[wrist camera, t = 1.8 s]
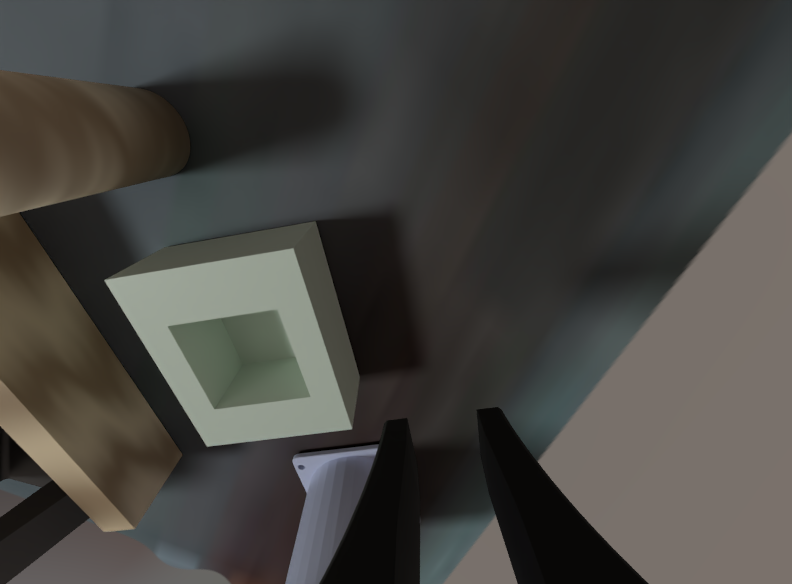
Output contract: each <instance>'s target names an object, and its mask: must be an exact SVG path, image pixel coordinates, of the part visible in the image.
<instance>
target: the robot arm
mask: <svg viewBox="0 0 792 584" xmlns="http://www.w3.org/2000/svg"><path fill="white" fill-rule="evenodd" d="M477 419H478V430H479V442H480V453H481V459H482V464H483V468H484V473H485V478H486V482H487V486H488V491H489V495H490V498H491V501H492V504H493V507H494V511H495V514H496V517H497V520H498V523H499V526H500V529H501V532H502V536H503V539H504V542H505V545H506V548H507V551H508V554H509V558H510V561H511V564H512V567H513V570H514V573H515V576H516V579H517V583H518V584H648V583H647V582H646V581H645V580H644V579H643V578H642V577H641V576H640V575H639V574H638V573H637V572H636V571H635V570H634V569H633V568H632V567H631V566H630V565H629V564H628V563H627V562H626V561H625V560H624V559H623V558H622V557H621V556H620V555H619V554H618V553H617V552H616V551H615V550H614V549H613V548H612V547H611V546H610V545H609V544H608V543H607V542H606V541H605V540H604V538H602V536H601V535H600V534H599V533H598V532H597V531H596V530H595V529H594V528H593V527H592V526H591V525H590V524H589V523H588V522H587V520H586V519H585V518H584V517H583V516H582V515H581V514H580V513H579V512H578V510H577V509H576V508H575V507H574V506H573V505H572V503H571V502H570V501H569V500H568V499H567V498H566V497H565V495H564V494H563V493H562V492H561V491H560V490H559V488H558V487H557V486H556V485H555V484H554V482H553V481H552V480H551V479H550V477H549V476H548V475H547V474H546V472H545V471H544V470H543V469H542V467H541V466H540V465H539V463H538V462H537V461H536V460H535V458H534V457H533V456H532V454H531V453H530V452H529V450H528V449H527V448H526V446H525V445H524V443H523V442H522V441H521V439H520V438H519V436H518V435H517V434H516V432H515V431H514V429H513V428H512V426H511V425H510V423H509V421H508V420H507V418H506V417H505V415H504V413H503V411H502V410H501V409H500V408H498V407H495V408H486V409H478V410H477ZM293 465H294V467H295V469H296V471H297V473H298V475H299V477H300V480H301V482H302V484H303V486H304V488H305V490H306V492H307V496H306V500H305V505H304V509H303V513H302V517H301V521H300V525H299V529H298V534H297V538H296V542H295V546H294V550H293V554H292V558H291V562H290V567H289V571H288V575H287V579H286V583H285V584H420V493H419V480H418V469H417V461H416V456H415V452H414V447H413V443H412V438H411V434H410V429H409V424H408V420H407V418H405V419H397V420H389V421H386V422H385V424H384V427H383V431H382V435H381V439H380V443H379V444H377V445H368V446H360V447H351V448H343V449H334V450H326V451H317V452H308V453H300V454H296V455H295V456H294V458H293Z"/></svg>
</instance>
